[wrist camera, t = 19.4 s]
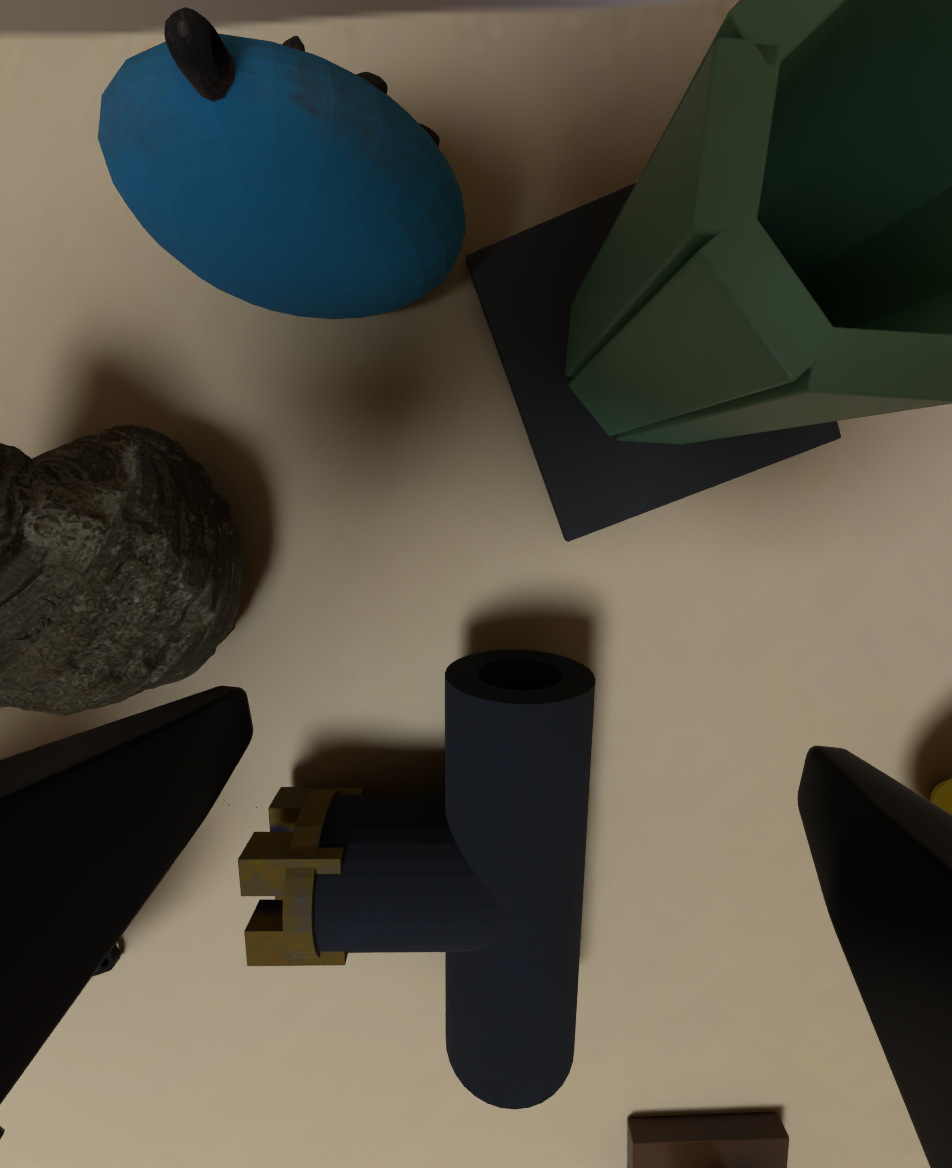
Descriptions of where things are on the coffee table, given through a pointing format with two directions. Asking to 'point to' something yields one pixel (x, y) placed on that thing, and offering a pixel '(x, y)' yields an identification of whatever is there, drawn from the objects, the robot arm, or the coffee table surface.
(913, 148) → the octagonal pen holder
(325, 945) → the pipe connector
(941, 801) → the fruit
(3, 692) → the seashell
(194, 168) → the ornament
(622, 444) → the mat
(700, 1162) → the peg stand
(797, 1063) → the coffee table surface
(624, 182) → the coffee table surface
